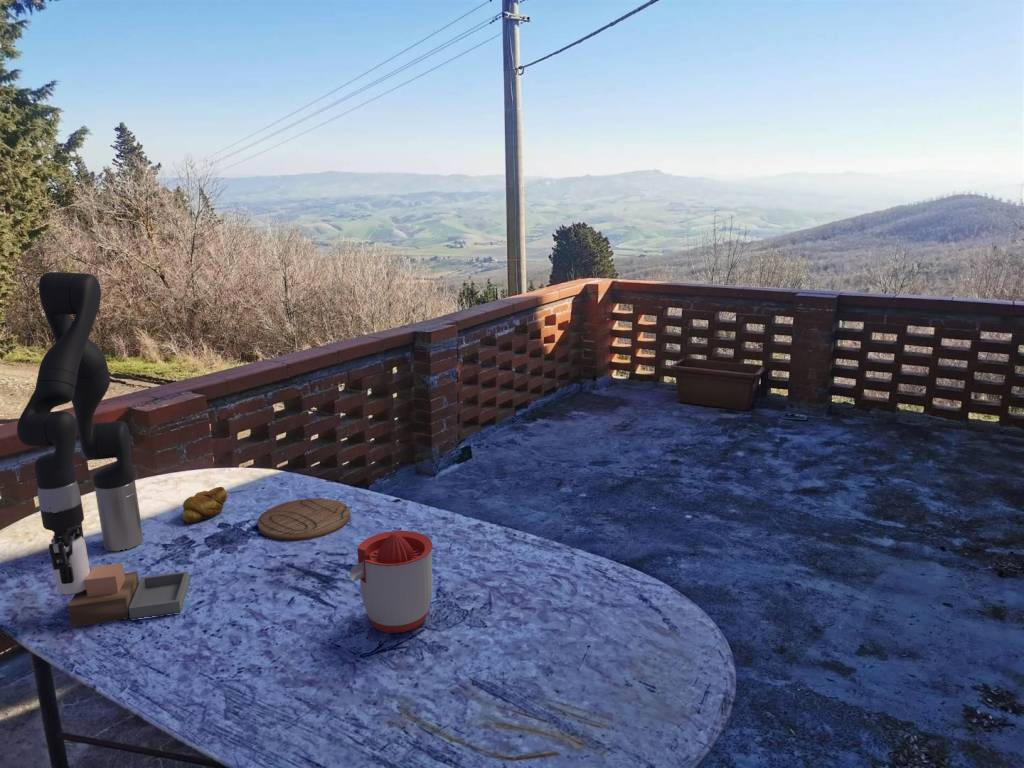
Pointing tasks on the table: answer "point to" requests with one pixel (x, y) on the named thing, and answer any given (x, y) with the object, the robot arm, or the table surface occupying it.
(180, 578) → the box
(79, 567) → the can
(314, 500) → the trivet
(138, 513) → the robot arm
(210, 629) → the table surface
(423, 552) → the citrus juicer
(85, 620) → the brown wooden block
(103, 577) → the small tan cube
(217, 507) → the bread roll
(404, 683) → the table surface
